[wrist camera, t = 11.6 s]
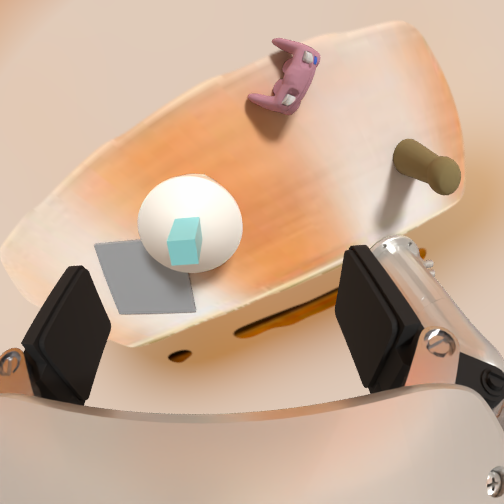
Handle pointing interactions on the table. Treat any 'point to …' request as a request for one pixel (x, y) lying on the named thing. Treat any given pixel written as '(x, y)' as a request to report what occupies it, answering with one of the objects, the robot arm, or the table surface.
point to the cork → (427, 166)
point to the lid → (190, 224)
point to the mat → (143, 280)
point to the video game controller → (290, 78)
